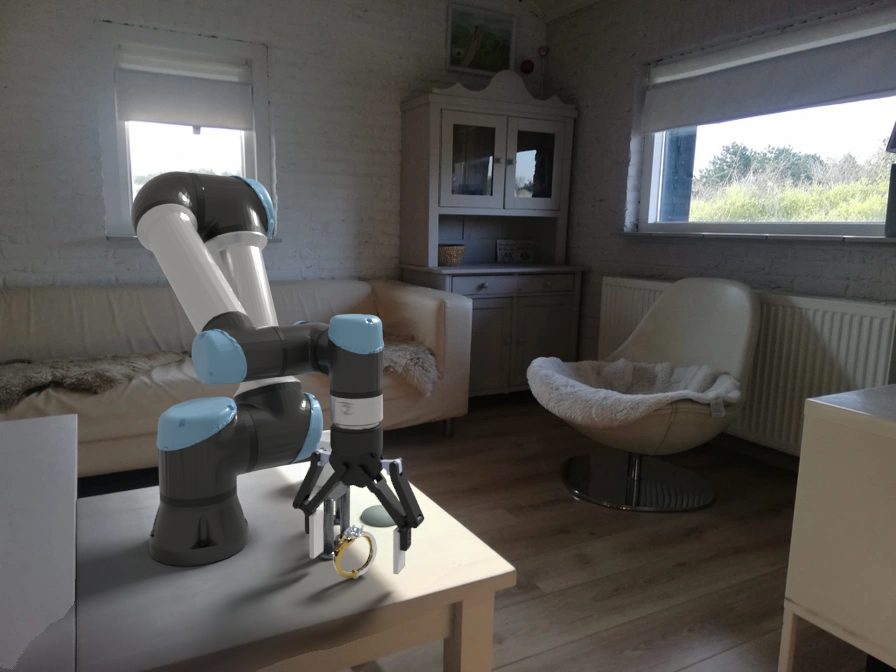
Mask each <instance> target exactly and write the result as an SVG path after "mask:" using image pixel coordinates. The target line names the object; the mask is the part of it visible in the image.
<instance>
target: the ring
mask: <svg viewBox="0 0 896 672" xmlns="http://www.w3.org/2000/svg"><path fill="white" fill-rule="evenodd" d="M349 537H350V539H348V540H347V541H346V542H344V543H343V541H344V539H345V538H346V539H347V538H349ZM362 537H363V538H365V539H366V541H367V543H368V546H369V553H368V555H367V556H368V557H367V559H366V561H365V563H364V564H363V565H362V566H361V567H359V568H357V569H356V568H355V569H352V570H351V571H345V570H343V569H342V567H341V559H342V556H343V554H344V553H345V552H346V550H347V549H348V548H349V547H350V546H351V545H352V544H353V543H354V542H355V541H356V540H357V539H359V538H362ZM342 543H343V544H342ZM377 544H378V543H377V540H376V537H375V536H374V535H373V534H372V533H371V532H369V531H364V524H362V525H361V527H356V525H355V524H353V525H352V526H351V525H350V527H349V528H348V529H346V530H345V531H344V532H343V533H342V534H341V536H340V537H339V539H338V541H337V543H336V542H335V545H334V552H333V559H332V564H333V567H334V569H335V570H336V572H337V573H338V574H339V575H340V576H341V577H343V578H347V579H354V580H355V579H356V580H357V579H359V577H360V576H362V575H363V574H364V573H366V572H368V571H369V570H370V568H371V566H373V564H374V561H375V559H376V557H377V553H378V552H377V551H378V545H377Z"/></svg>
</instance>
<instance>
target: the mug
mask: <svg viewBox="0 0 896 672" xmlns="http://www.w3.org/2000/svg"><path fill="white" fill-rule="evenodd" d="M320 448H325V449H326V452H330V453H331V451H332V449H331V447H330V429H329V430H328V429H327V430H323V431H322V437H321V440H320V443H319V446H318V448H317V449H316V450H318V449H320ZM334 472H335V471H334V470H333V468H332V466H331V465H330V463H329V461H328V463H327V464H326V465H325V466H324V468H323V470H322V472H321V474H320V476H319V479H318V481H317V483H316V485H315V486H317V487H320V488H322V486H323V485H324V484H325V483H326V482H327V480H328V479H329V478H330V476H331V475H332V474H333V473H334Z"/></svg>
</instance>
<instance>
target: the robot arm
mask: <svg viewBox="0 0 896 672" xmlns="http://www.w3.org/2000/svg"><path fill="white" fill-rule="evenodd" d="M271 198H272V197H270V194H269V192H268V191H267V188H266V187H265V186H264V185H263V184H262V183H261V182H259V181H257V180H255V179H253V178H248V177H242V176H240V175H229V176H228V175H221V174H220V175H219V174H206V173H196V172H186V171H178V170H176V171H168V172H164V173H161V174H158V175H155V176H153V178H151V179H149V180H148V181H147V182H146V183H144V184H143V185H142V186H141V188H140V189H139V190H138V192H137V193H136V195H135V197H134V199H133V202H132V205H131V210H130V211H131V213H130V218H131V224H132V229H133V231H134V233H135V236H136V237H137V240H138V241H139V242H140V244H141V246H143V248H145V249H146V250H148V251H150V252H152V253H153V256H154V257H155V259H156V260H157V262H158V264H159V266H160V268H161V270H162V271H163V273H164V274H163V275H164V276H165V277H166V279H167V282H168V283H169V285H170V286H171V288H172V290H173V292H174V294H175V296H176V298H177V300H178V301H179V303H180V305H181V307H182V309H183V311H184V313H185V314H186V316H187V318H188V320H189V322H190V324H191V325H192V327H193V329H194V331H195V333H196V336H195V337H194V338H193V341H192V345H191V361H192V364H193V367H194V368H193V370H194V373H195V375H196V377H197V379H198V380H199V381H200V382H201V383H203V384H205V385H208V386H218V385H219V386H222V385H237V384H239V387H238V389H237V390H236V392H235V393H234V394H233V398H230V397H228V396H223V395H222V396H220V395H219V396H216V395H215V396H214V395H213V396H210V397H207V396H202V397H197V398H191V399H188V400H185V401H182V402H179V403H176V404H174V405H172V406H170V407H168V408H167V409H166V410H165V411H163V412H162V414H161V415H160V416H159V418H158V420H157V435H156V436H157V437H156V439H155V440H156V441H155V443H156V447H157V460H158V461H157V462H158V483H159V485H158V488H159V504H158V508H157V511H156V514H155V517H154V521H153V523H152V524H153V526H152V529H151V531H150V534H149V538H148V541H149V543H148V545H149V548H148V549H149V554H150V556H151V557H152V558H153V559H154V560H155V561H157V562H160V563H163V564H166V565H171V566H180V567H181V566H182V567H183V566H184V567H185V566H186V567H188V566H189V567H191V566H201V565H206V564H212V563H216V562H220V561H221V560H225V559H227V558H229V557H232V556H233V555H236V554H237V553H239V552H241V551H242V550H243V549H244V548H245V547H246V546H247V545H248V543H249V540H250V530H249V529H250V528H249V527H250V525H249V522H248V520H247V518H246V517H245V513H244V512H243V511H244V510H243V508H242V505H241V502H240V499H239V496H238V483H237V482H238V476H241V475H244V474H249V473H255V472H258V471H262V470H267V469H271V468H275V467H280V466H283V465H286V466H287V465H288V466H289V465H292V464H294V463H296V462H299V461H303V460H306V459H308V458H310V462H309V467H308V470H307V471H306V474H305V476H304V478H303V480H302V482H301V485H300V486H299V488H298V491H297V492H296V495H295V497H294V499H293V500H292V504H291V505H292V508H294V509H295V510H300V511H302V512H303V514H304V531H305V534H307V535H309V558H310V559H315V558H316V557H319V554H320V553H321V552H322V551H323V509H318V508H319V507H321V505H322V504H323V501H324V500H325V499H326V498H327V497H328V495H329V494H330V493H331V492H332V491H333V490H334V489H335V488H336V486H337V485H338V484H339V483H340V482H342V483H344V485H345V486H350V487H351V486H354V487H356V488H361V489H364V488H365V487H366V488H367V490H368V491H369V492H370V493H371V494H373V495H374V496H375V498H376V499H377V500H378V502H379V503H380V505H382V506H383V507H384V508H385V510H386V511H387V513H388V514H389V515H390V517H391V518H392V519H393V521H394V522H395V524H396V525H395V526H396V527H395V529H393V536H392V537H393V538H392V542H393V544H392V546H393V547H392V548H393V550H392V565H393V566H392V574H393V575H399V574H400V573H401V572H402V571H403V569H404V568H405V567H406V552H407V551H408V550H409V549H410V547H411V545H412V529H417V528H419V526H421V524H422V523H423V522H424V520H425V515H424V514H423V511H422V509H421V507H420V504H419V503H418V500H417V497H416V495H415V494H414V490H413V488H412V487H411V485H410V482H409V479H408V478H407V475H406V473H405V464H404V459H403V457H397V458H395V459H385V458H384V455H383V446H384V439H383V438H384V430H383V429H384V428H383V426H384V425H383V424H382V420H383V419H384V411H383V410H384V398H383V396H384V393H383V392H384V391H383V390H384V389H383V388H384V386H383V385H384V349H385V343H384V338H383V337H384V336H383V335H384V334H383V323H382V320H381V319H380V318H379V316H377V315H373V314H362V313H345V314H337V315H334V316H333V315H332V317H331V318H330V319H329V323H323V322H319V321H318V320H299V321H295V322H294V323H292V324H284V325H279V322H278V318H277V312H276V309H275V304H274V300H273V297H272V296H273V295H272V292H271V291H272V290H271V288H270V286H271V285H270V282H269V278H268V274H267V270H266V265H265V260H264V257H263V250H264V249H265V247H266V246H267V244H268V243H269V242H268V238H269V237H270V236H271V235H272V232H273V230H274V227H275V221H274V217H275V210H274V204H273V201H272V199H271ZM307 374H321V375H325V376H328V377H329V398H330V399H329V409H330V411H329V412H330V413H329V417H330V419H329V420H330V421H331V422H332V423H331V425H330V427H329V430H330V447H331V449H332V451H331V453H330V452H326V449H325V448H320V449H318V450H316V449H317V448H318V446H319V443H320V440H321V437H322V431H324V429H323V428H324V418H323V411H322V407H321V405H320V404H321V403H320V402H319V400H317V398H316V397H315V395H313V394H312V393H310V392H307V391H306V392H305V391H303V387H302V382H301V380H299V379H298V378H297V377H295V376H301V375H307ZM328 461H329V463H330V465H331V466H332V468H333V470H334V471H335V472H334V473H333V474H332V475H331V476H330V478H329V479H328V480H327V482H326V483H325V484H324V485H323V486H322V487H320V489H319V490H318V491H317V492H316V493H315V494H314V495H313V497H312V498H311V499H310V497H311V496H312V493H313V491H314V489H315V486H317V485H316V483H317V481H318V479H319V476H320V474H321V472H322V470H323V468H324V466H325V465H326V464H327V463H328ZM383 470H385V471H386V472H385V473H386V475H387V476H389V478H390V482H391V484H392V487H393V488H394V491H395V493H396V494H395V493H394V492H393V490H392V488H391V486H389V484H388V480H387V478H386V477H385V476H384V474H383V473H382V471H383ZM375 481H376V482H375Z"/></svg>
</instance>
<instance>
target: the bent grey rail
mask: <svg viewBox="0 0 896 672" xmlns="http://www.w3.org/2000/svg"><path fill="white" fill-rule="evenodd" d="M322 504H323V507H322V510H323V551H322V552H321V553H320V554H319V555H318V558H320V559H321V560H324V559H325V560H326V561H329V560H333V552H334V548H335V545H334V544H336V543H337V541H338V539H339V537H340V536H341V534H342V533H343V532H344V531H345V530H346V529H348V528H349V527H350V526H351V486H345V485H344V483H342V482H340V483H339V484H338V485H337V486H336V488H335V489H334V490H333V491H332V492H331V493H330V494H329V495H328V497H327V498H326V499H325V500H324V501H323V502H322ZM334 525H339V534H338V535H336V536H335V535H334V533H335V531H334V528H335V527H334ZM334 538H335V540H334ZM348 539H350V537H349V538H347V539H346V538H345V539H344V541H343V543H344V542H346V541H347V540H348ZM334 541H335V543H334ZM343 543H342V544H343ZM327 559H328V560H327Z"/></svg>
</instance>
